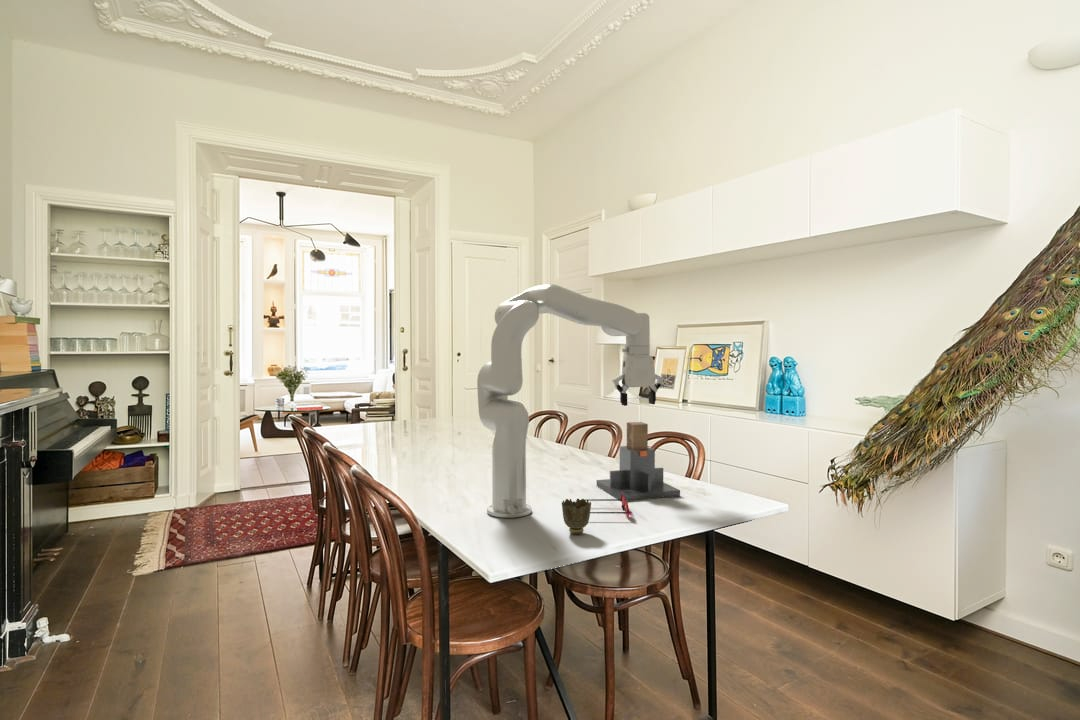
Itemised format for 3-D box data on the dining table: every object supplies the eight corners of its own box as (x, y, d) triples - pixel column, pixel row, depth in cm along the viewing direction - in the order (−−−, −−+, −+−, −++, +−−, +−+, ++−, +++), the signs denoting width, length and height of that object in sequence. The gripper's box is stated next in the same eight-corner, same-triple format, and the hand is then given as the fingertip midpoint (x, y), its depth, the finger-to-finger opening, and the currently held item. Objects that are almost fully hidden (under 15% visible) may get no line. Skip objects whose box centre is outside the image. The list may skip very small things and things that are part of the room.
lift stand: (680, 496, 187) (680, 451, 187) (620, 501, 182) (620, 455, 181) (650, 482, 206) (651, 441, 206) (596, 486, 201) (596, 444, 200)
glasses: (632, 522, 162) (632, 504, 162) (570, 522, 162) (570, 504, 162) (625, 508, 176) (625, 491, 175) (568, 508, 176) (568, 491, 176)
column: (647, 483, 192) (647, 423, 192) (632, 484, 191) (633, 424, 190) (640, 479, 197) (640, 421, 196) (626, 480, 196) (626, 422, 195)
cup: (589, 528, 155) (589, 497, 155) (592, 537, 148) (593, 505, 147) (560, 528, 155) (560, 498, 155) (562, 538, 147) (562, 505, 147)
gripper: (617, 352, 187) (618, 407, 187) (667, 351, 191) (668, 404, 192) (608, 351, 194) (608, 404, 195) (656, 350, 199) (657, 402, 199)
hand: (638, 404), depth 193 cm, fingers open, 9 cm apart
